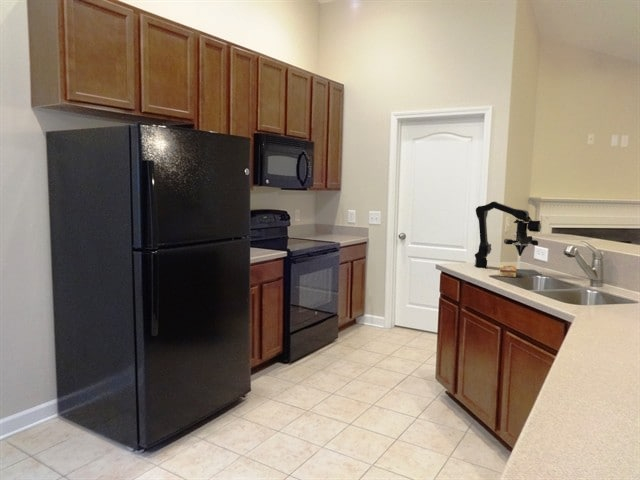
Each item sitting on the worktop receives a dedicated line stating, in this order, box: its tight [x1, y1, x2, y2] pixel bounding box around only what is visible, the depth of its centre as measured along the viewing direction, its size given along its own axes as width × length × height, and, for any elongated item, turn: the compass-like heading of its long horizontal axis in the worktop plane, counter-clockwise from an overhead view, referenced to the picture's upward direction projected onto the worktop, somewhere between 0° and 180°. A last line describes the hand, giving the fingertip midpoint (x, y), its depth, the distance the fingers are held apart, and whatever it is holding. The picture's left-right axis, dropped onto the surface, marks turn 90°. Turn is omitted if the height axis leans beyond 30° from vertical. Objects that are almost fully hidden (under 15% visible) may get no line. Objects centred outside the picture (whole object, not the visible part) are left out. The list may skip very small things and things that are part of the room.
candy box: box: [499, 264, 517, 278], centre depth 283 cm, size 9×4×15 cm
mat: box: [516, 268, 543, 276], centre depth 291 cm, size 16×15×1 cm
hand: (519, 255), depth 290 cm, fingers closed
